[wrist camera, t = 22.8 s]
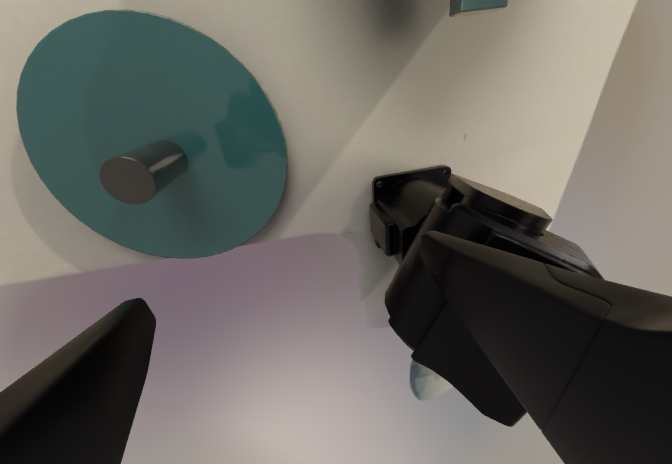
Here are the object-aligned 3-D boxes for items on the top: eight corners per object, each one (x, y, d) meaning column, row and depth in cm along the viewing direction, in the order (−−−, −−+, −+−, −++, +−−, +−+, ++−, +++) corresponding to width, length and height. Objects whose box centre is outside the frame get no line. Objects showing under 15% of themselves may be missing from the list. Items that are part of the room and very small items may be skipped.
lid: (257, 1, 15) (242, -48, 10) (303, 231, 23) (309, 275, 17) (-36, 31, 14) (-236, -6, 9) (113, 267, 21) (55, 326, 16)
